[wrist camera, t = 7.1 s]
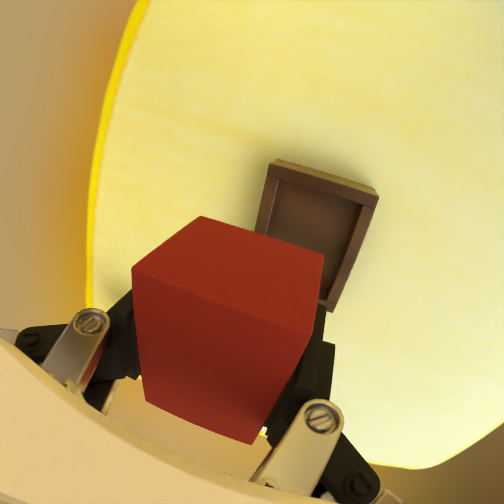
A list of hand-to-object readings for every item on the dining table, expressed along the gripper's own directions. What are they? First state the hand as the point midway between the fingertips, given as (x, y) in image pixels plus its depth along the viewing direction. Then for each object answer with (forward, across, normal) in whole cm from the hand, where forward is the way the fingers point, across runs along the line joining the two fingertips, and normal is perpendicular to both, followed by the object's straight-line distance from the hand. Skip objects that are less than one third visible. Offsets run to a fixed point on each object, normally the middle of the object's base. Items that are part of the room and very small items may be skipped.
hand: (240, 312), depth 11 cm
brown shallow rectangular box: (+15, -2, +2) cm, 15 cm away
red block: (0, 0, 0) cm, 0 cm away
